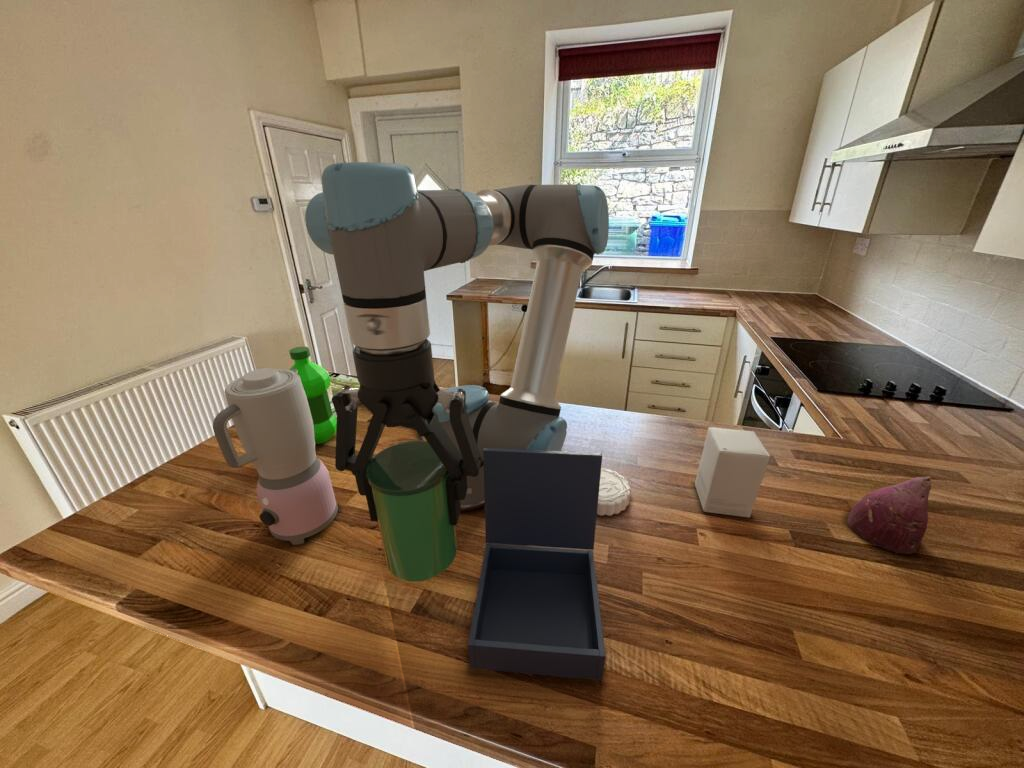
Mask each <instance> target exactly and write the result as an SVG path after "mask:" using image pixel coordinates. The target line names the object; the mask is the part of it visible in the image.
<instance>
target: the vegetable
mask: <svg viewBox="0 0 1024 768" xmlns="http://www.w3.org/2000/svg"><path fill="white" fill-rule="evenodd" d="M931 479H932V476H918V477H913V478H911V479H908V480H905V481H902V482H900V483H897V484H893V485H888V486H883V487H879V488H877V489H875V490H872V491H871V492H869V493H867V494H865V495H864V496H863V497H862V498H860V499H859V500H858V501H857V502H856V503H855V504H854V505H853V507H852V508H851V509H850V512H849V515H848V518H847V525H848V527H849V528H850V529H851V530H852V531H853V532H854V533H855V534H857V535H858V536H859V537H860V538H862V539H863V540H865V541H867V542H869V543H871V544H873V545H874V546H876V547H879V548H882V549H885V550H887V551H890V552H893V553H897V554H900V555H901V554H902V555H911V554H914V553H916V551H917V550H918V547H919V546H920V544H921V542H922V541H923V538H924V535H925V533H926V531H927V529H928V522H929V512H928V509H929V507H928V506H929V505H928V504H929V495H930V491H931V489H932V481H931Z"/></svg>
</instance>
